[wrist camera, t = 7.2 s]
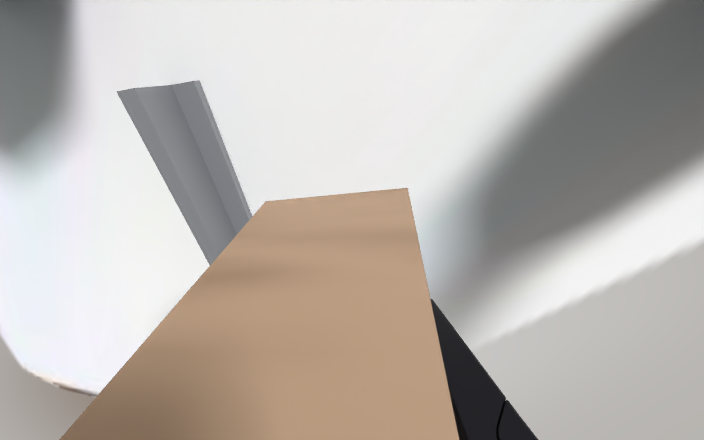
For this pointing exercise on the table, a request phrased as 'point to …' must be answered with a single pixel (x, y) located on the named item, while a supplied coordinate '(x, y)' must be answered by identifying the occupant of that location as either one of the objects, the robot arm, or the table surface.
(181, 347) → the tea box
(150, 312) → the table surface
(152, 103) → the rail
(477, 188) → the table surface
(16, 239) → the table surface
